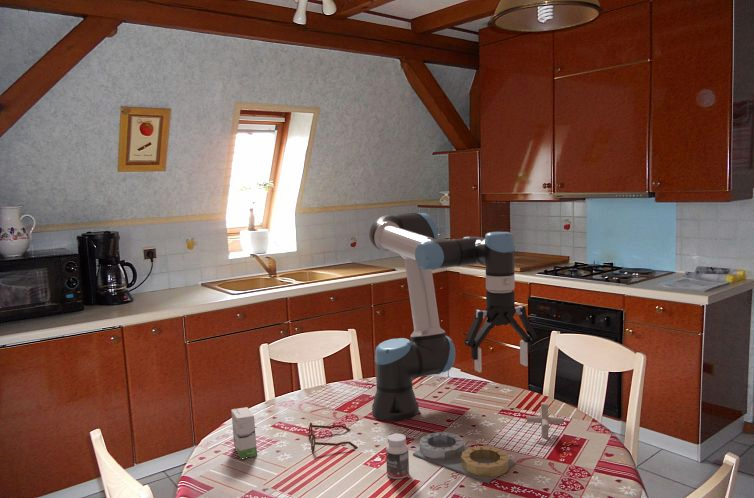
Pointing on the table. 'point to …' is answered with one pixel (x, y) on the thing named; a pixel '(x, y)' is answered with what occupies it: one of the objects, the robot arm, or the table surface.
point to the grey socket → (441, 453)
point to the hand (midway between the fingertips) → (501, 368)
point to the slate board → (456, 463)
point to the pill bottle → (397, 456)
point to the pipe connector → (544, 419)
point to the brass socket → (484, 468)
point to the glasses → (326, 443)
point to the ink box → (244, 432)
